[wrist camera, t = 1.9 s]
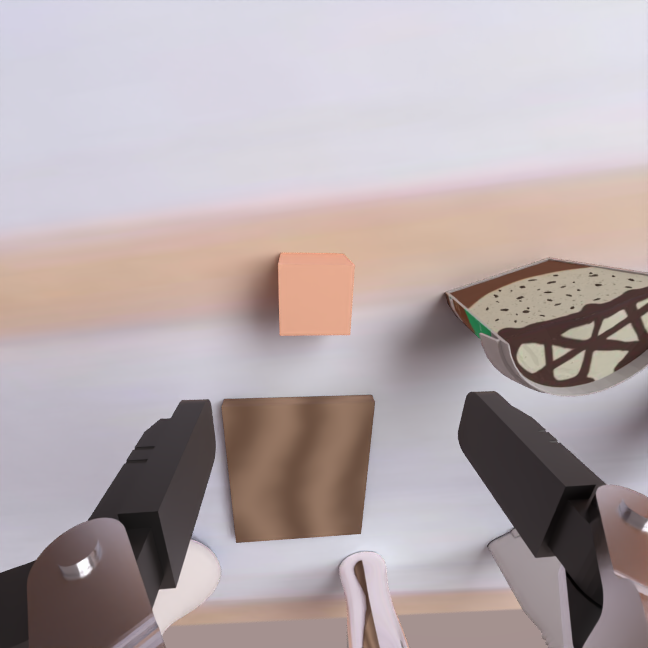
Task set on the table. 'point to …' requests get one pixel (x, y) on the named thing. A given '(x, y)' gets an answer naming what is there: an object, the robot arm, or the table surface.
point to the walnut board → (297, 465)
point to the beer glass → (369, 603)
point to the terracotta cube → (315, 294)
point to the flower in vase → (188, 586)
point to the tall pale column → (532, 584)
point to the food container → (560, 324)
